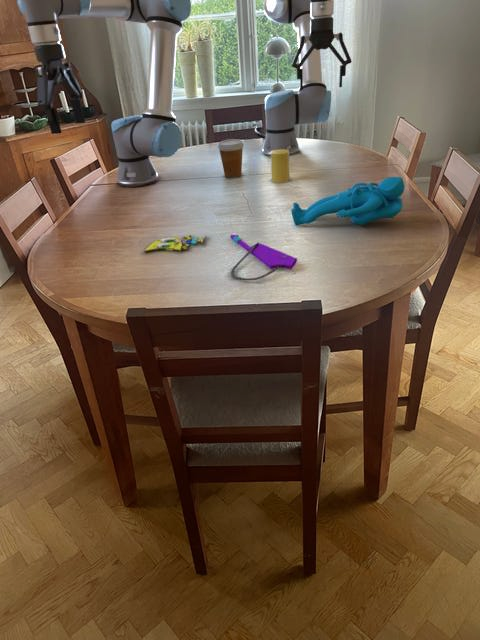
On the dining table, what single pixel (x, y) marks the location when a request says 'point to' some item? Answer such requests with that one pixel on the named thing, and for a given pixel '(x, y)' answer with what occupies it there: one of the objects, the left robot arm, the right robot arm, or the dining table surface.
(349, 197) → the toy
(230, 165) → the disposable coffee cup
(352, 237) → the dining table surface
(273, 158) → the can
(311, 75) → the right robot arm
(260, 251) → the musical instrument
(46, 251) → the dining table surface
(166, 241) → the toy
